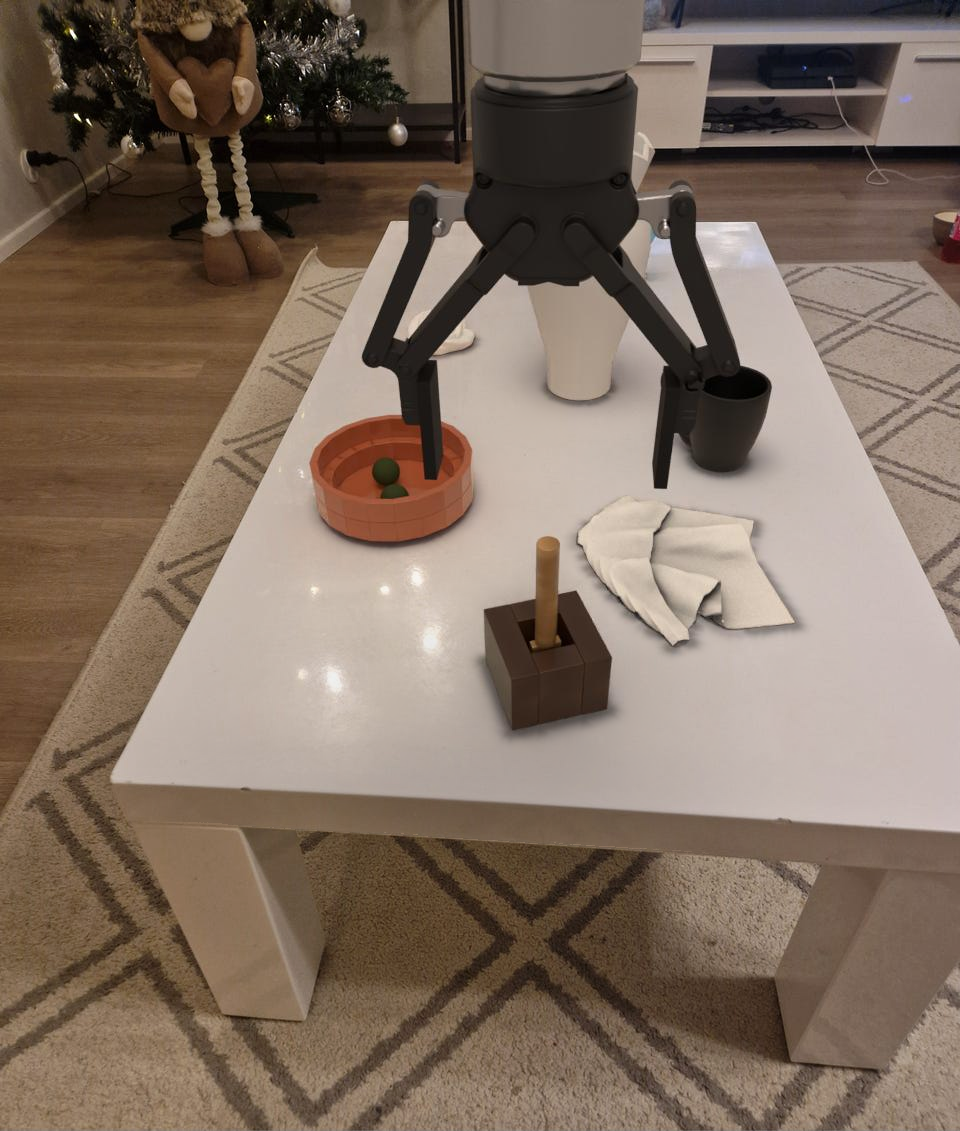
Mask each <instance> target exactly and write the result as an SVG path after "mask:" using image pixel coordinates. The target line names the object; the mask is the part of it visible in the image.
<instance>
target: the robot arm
mask: <svg viewBox="0 0 960 1131" xmlns="http://www.w3.org/2000/svg"><path fill="white" fill-rule="evenodd" d="M645 7H646V0H466V8H467V9H466V10H467V32H468V34H467V35H468V59H469V60H468V62H469V65H470V66H471V67H472V68H473V69H474V70H475V71H477V72H479V73H480V74H482V77H480V78H479V79H477V80H476V81H475V83H474V86H473V87H472V88H471V89H470V120H471V147H472V148H471V149H472V183H471V187H470V189H469V191H458V190H451V189H441V188H440V186H439V184H438V183H437V182H436V181H435V180H432V179H424V180H422V181H421V182H419V184H418V185H417V188H416V189H415V191H414V193H413V195H412V197H411V199H410V201H409V203H408V219H407V220H408V222H407V224H408V225H407V242H406V244H405V247H404V250H403V252H402V254H401V257H400V259H399V261H398V263H397V266H396V269H395V271H394V274H393V276H392V279H391V282H390V285H389V286H388V289H387V291H386V294H385V296H384V299H383V301H382V304H381V306H380V308H379V311H378V314H377V316H376V318H375V320H374V324H373V325H372V328H371V331H370V333H369V336H368V338H367V341H366V343H365V346H364V349H363V350H362V353H361V360H362V363H363V364H364V365H365V366H367V367H368V368H370V369H377V368H379V367H382V368H384V369H387V370H389V371H391V372H392V373H394V375H395V376H396V378H397V383H398V393H399V402H400V403H399V404H400V412H401V415H402V418H403V420H404V422H405V424H406V425H420V432H421V443H422V455H423V466H424V478H425V480H437V478H438V474H439V470H440V467H441V463H442V459H443V442H442V427H441V421H442V414H441V413H442V412H441V401H440V384H439V370H438V359H431V358H432V357H433V356H434V355H433V354H434V353H435V352H436V351H437V349H438V348H439V347H440V346H441V345H442V344H443V342H444V341H445V340H446V339H447V338H448V337H449V335H450V334H451V333H452V332H453V331H454V330H455V328H456V327H457V326H458V325H459V324H460V322H461V321H462V320H464V319H465V318H466V317H467V316H468V314H469V313H470V312H471V311H472V310H473V308H474V307H476V305H478V303H479V302H480V301H481V299H482V298H483V297H484V296H487V295H488V294H489V292H490V291H491V290H492V289H493V288H494V287H495V286H496V285H497V284H498V282H499V281H500V280H501V279H502V278H503V277H504V275H505V276H506V277H507V278H508V279H511V280H512V281H515V282H517V286H520V287H521V286H522V287H523V286H525V287H527V286H534V285H538V284H542V283H546V282H551V283H554V284H558V285H562V286H579V282H583V281H586V280H588V279H590V278H591V277H593V276H594V278H595V279H596V280H597V281H598V283H599V284H600V285H601V286H602V288H603V289H604V290H605V291H606V293H607V294H608V295H609V296H610V297H613V298H614V299H615V300H616V301H617V302H618V303H619V305H620V306H621V307H622V308H623V310H624V311H625V312H626V313H627V315H628V316H629V317H630V318H629V319H630V320H631V321H632V322H633V323H634V325H635V326H636V327H637V329H638V330H639V331H640V332H641V333H642V335H643V337H645V338H646V340H647V341H648V343H650V345H651V346H652V348H654V349H655V351H656V353H657V354H658V355H659V356H660V357H661V358H662V360H663V361H664V362H665V364H666V365H663V367H662V373H663V375H662V374H661V375H662V383H660V392H659V393H660V394H659V400H658V401H659V402H658V410H657V417H656V418H657V419H656V427H655V433H654V434H655V435H654V436H655V438H654V444H653V450H652V460H651V461H652V462H651V467H652V481H653V489H654V490H667V489H668V485H669V477H670V471H671V470H670V468H671V463H672V454H673V449H674V448H673V447H674V440H675V434H678V435H679V434H690V433H691V432H692V430H693V429H694V427H695V423H696V416H697V409H698V403H699V396H700V391H701V390H702V389H703V388H704V386H705V381H706V380H707V379H709V378H711V377H714V376H717V375H722V376H725V377H730V376H733V375H735V374H736V373H737V372H738V371H739V369H740V366H741V360H740V357H739V356H740V355H739V353H738V349H737V344H736V340H735V338H734V335H733V333H732V332H733V331H732V329H731V327H730V325H729V321H728V319H727V317H726V313H725V311H724V308H723V306H722V303H721V301H720V297H719V295H718V292H717V290H716V287H715V283H714V281H713V279H712V276H711V273H710V270H709V268H708V264H707V262H706V260H705V257H704V255H703V252H702V249H701V247H700V243H699V241H698V238H697V205H696V204H697V203H696V200H695V199H696V198H695V195H694V191H693V187H692V185H691V183H690V182H688V181H687V180H684V179H679V180H675V181H674V182H672V183H671V184H670V186H668V189H661V190H651V191H642V192H641V191H640V192H637V193H636V191H635V189H634V186H633V183H632V179H631V176H632V161H633V148H634V136H635V135H636V123H637V122H636V121H637V109H638V95H639V94H638V93H639V87H638V84H636V83H635V80H634V79H633V77H632V76H631V75H629V73H628V71H630V70H631V69H633V68H635V67H636V65H637V64H638V63H639V62H640V61H641V58H642V45H643V34H644V21H645V9H646V8H645ZM458 220H465V223H466V224H467V227H469V229H470V230H471V232H472V233H473V234H474V236H475V237H476V238H477V240H478V241H479V242H480V243H481V245H482V246H481V247H480V249H479V250H478V251H477V252H476V253H475V255H474V257H473V258H472V259H471V262H470V263H469V264H468V265H467V267H465V269H464V270H463V271H462V272H461V274H460V275H459V277H458V278H457V279H456V280H455V281H454V282H453V283H452V285H451V286H450V287H449V289H447V291H446V292H445V294H443V296H442V297H441V299H439V300H438V302H437V303H436V304H435V306H434V307H433V308H432V309H431V310H432V311H431V312H430V313H429V314H428V316H427V317H426V318H425V319H424V320H423V322H422V323H421V324H420V325H419V327H418V328H417V329H416V330H415V331H414V333H413V334H412V335H411V336H410V338H409V339H408V338H407V337H406V339H405V340H403V339H399V338H396V337H395V335H396V333H397V330H398V328H399V325H400V323H401V321H402V318H403V316H404V314H405V312H406V309H407V307H408V304H409V302H410V300H411V297H412V295H413V293H414V291H415V288H416V286H417V284H418V281H419V278H420V276H421V274H422V271H423V270H424V268H425V265H426V262H427V260H428V258H429V256H430V253H431V250H432V248H433V246H434V243H435V240H436V238H437V239H438V238H439V239H440V238H444V237H446V236H448V235H449V233H450V232H451V229H452V226H453V225H454V223H455V222H456V221H458ZM637 220H645V221H647V222H648V223H649V224H650V225H651V227H652V230H653V233H654V235H655V236H656V237H655V238H657V239H660V240H669V244H670V249H671V255H672V257H673V261H674V264H675V267H676V269H677V272H678V274H679V277H680V279H681V282H682V284H683V288H684V290H685V292H686V294H687V297H688V300H689V302H690V304H691V307H692V310H693V313H694V315H695V317H696V320H697V323H698V325H699V327H700V330H701V333H702V336H703V338H704V340H705V342H706V344H705V345H702V346H699V347H697V346H696V345H695V344H694V342H693V341H692V340H691V338H690V337H689V335H687V333H686V332H685V330H684V329H683V328H682V326H681V325H680V324H679V323H678V321H677V320H676V319H675V317H674V316H673V315H672V314H671V312H670V311H669V310H668V309H667V307H666V305H664V303H663V302H662V301H661V300H660V298H659V297H658V295H657V294H656V293H655V291H654V290H652V288H651V286H650V285H649V284H648V283H647V281H646V280H645V278H644V279H643V278H642V276H641V275H640V274H639V272H638V271H637V270H636V269H635V267H634V266H633V264H632V263H631V260H630V258H629V257H628V255H627V254H626V252H625V251H624V250H623V248H622V247H621V246H620V243H621V242H622V241H623V240H624V238H625V237H626V236H627V235H628V233H629V232H630V231H631V230H632V228H633V227H634V226H635V224H636V222H637Z"/></svg>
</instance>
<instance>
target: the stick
mask: <svg viewBox="0 0 960 1131" xmlns="http://www.w3.org/2000/svg"><path fill="white" fill-rule="evenodd" d="M535 546H536V547H535V550H536V552H535V596H534V599H535V640H533V641H530V653H531V654H532V653H536V652H540V651H545V650H549V649H554V648H559V647H561V640H560V638H559V636H558V635H557V636H556V634H557V609H558V594H559V582H560V581H559V580H560V558H561V557H560V555H561V554H560V552H561V542H560V540H559V539H558V538H557V537H554V536H552V535H551V536H550V535H545V536H541V537H540V538H538V539H537V540H536V544H535Z"/></svg>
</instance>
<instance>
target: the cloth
mask: <svg viewBox="0 0 960 1131" xmlns="http://www.w3.org/2000/svg"><path fill="white" fill-rule="evenodd" d="M754 523H755V521H754V520H752V519H746V518H743V517H742V518H741V517H734V516H730V515H724V514H718V513H712V512H705V511H699V510H691V509H683V508H678V507H672V506H671V505H669V504H667V503H665V502H664V503H663V502H661V501H659V500H652V499H649V500H642V501H640V500H639V501H638V500H637V499H636V498H635V497H634V496H633V495H625V496H624V495H623V496H622V497H621V498H619V499H618V500H615V501H614V502H612V503H610V504H609V505H607V506H605V508H603V509H602V510H601V511H600V512H599V513H596V514H595V515H594V516H592V517H591V519H590V520H589V522H587V524H585V525H584V526H583V527H582V528H581V529H580V530H578V532H576V539H575V540H576V541H575V542H576V544H578V545H581V546H582V548H583V551H584V554H585V556H586V559H587V561H588V563H589V566H590V567H591V569H592V570H593V571H594V572H595V574H596V576H597V578H598V579H599V580H600V581H601V583H603V584H605V585H606V586H607V588H608V589H609V591H610V592H611V593H612V594H613V595H614V596H615V597H617V598H618V599H620V600H621V602H622V603H623V604H624V606H625V607H626V608H627V609H628V610H629V611H630V612H632V613H633V614H635V615H637V616H639V617H640V618H641V619H642V620H643V621H644V622H645V623H646V625H648V626H649V627H650V628H651V629H652V630H654V631H656V632H658V633H660V634H662V635H663V636H664V637H665V638H666V640H667V641H668V642H669V643H670V644H671V645H672V646H674V645H675V644H677V643H678V642H679V641H684V640H685V641H690V634H689V630H690V628H691V627H692V625H693V624H694V622H696V619H697V614H699V615H701V616H703V617H705V618H708V619H711V620H713V621H714V622H715V623H716V624H718V625H720V626H722V627H723V628H725V629H733V630H739V629H752V628H761V627H769V626H771V627H772V626H779V625H780V626H781V625H788V624H795V620H794V619H793V617H792V615H791V614H790V612H789V610H788V609H787V607H786V605H785V604H784V603H783V601H782V599H781V598H780V596H779V594H778V593H777V591H776V589H775V588H774V587H773V585H772V583H771V581H770V580H769V578H768V577H767V576H766V574H765V572H764V570H763V569H762V567H761V566H760V564H759V563H758V561H757V558H756V556H755V552H754V549H753V547H752V544H751V537H752V533H753V529H754Z"/></svg>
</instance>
